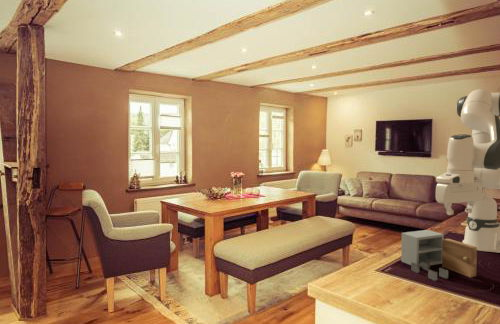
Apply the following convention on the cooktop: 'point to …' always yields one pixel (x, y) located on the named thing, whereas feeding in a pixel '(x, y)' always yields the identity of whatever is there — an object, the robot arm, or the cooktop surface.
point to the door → (459, 257)
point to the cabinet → (421, 247)
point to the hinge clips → (431, 273)
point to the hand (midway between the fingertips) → (459, 213)
